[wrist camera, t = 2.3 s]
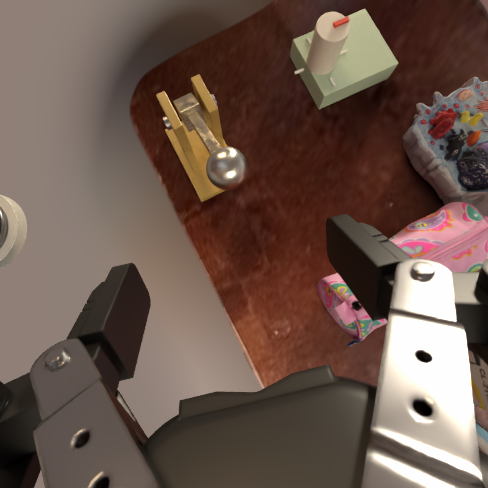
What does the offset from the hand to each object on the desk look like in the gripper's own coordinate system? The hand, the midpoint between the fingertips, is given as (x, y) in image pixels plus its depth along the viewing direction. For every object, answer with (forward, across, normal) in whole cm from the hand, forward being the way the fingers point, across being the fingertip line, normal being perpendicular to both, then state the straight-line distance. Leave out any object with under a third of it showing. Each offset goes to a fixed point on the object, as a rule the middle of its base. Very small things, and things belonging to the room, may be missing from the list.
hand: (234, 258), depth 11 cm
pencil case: (+19, -19, +20) cm, 34 cm away
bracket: (+32, +2, +2) cm, 33 cm away
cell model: (+26, -34, +11) cm, 44 cm away
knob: (+35, -18, -6) cm, 40 cm away
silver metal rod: (+19, 0, 0) cm, 19 cm away
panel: (+38, -21, -5) cm, 44 cm away
